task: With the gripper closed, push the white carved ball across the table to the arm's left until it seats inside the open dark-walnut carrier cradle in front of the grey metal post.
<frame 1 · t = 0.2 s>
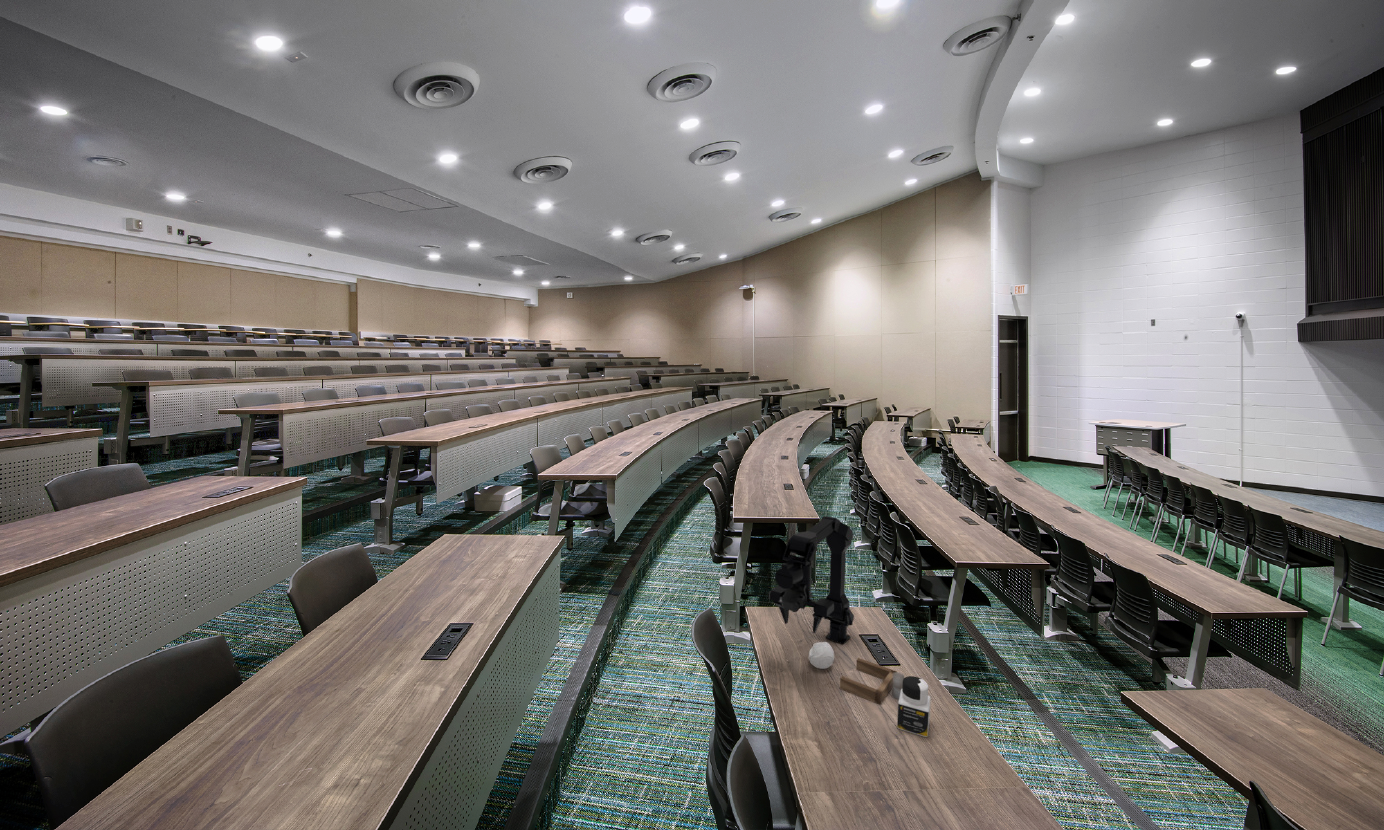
hand: (800, 627, 158), 14 cm above the table, fingers open, 9 cm apart
carrier cradle: (865, 683, 153), on the table
medicine bottle: (913, 725, 135), on the table
white carved ball: (820, 667, 162), on the table
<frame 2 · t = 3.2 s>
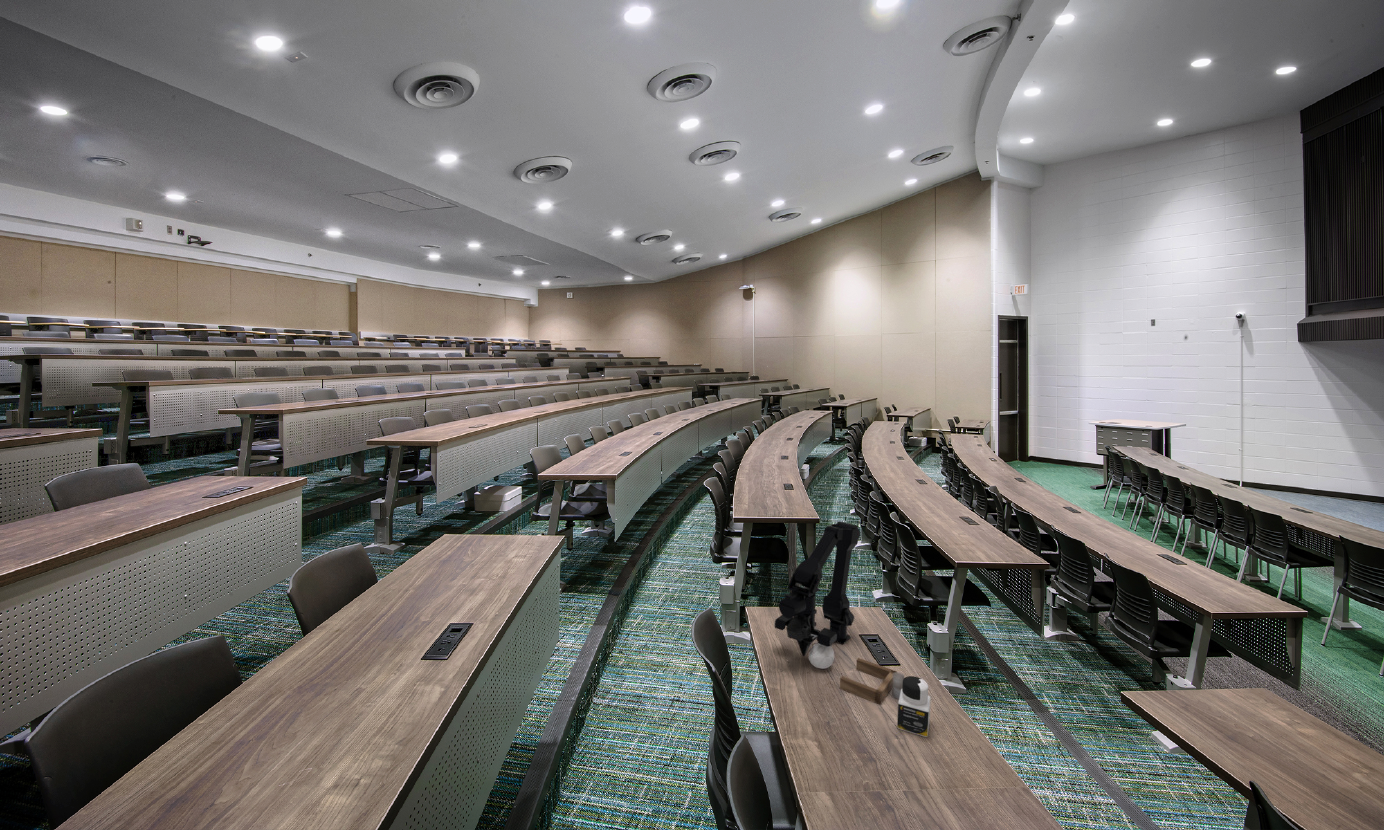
hand: (804, 655, 165), 2 cm above the table, fingers closed
white carved ball: (820, 667, 162), on the table, touching gripper
everything else where it was.
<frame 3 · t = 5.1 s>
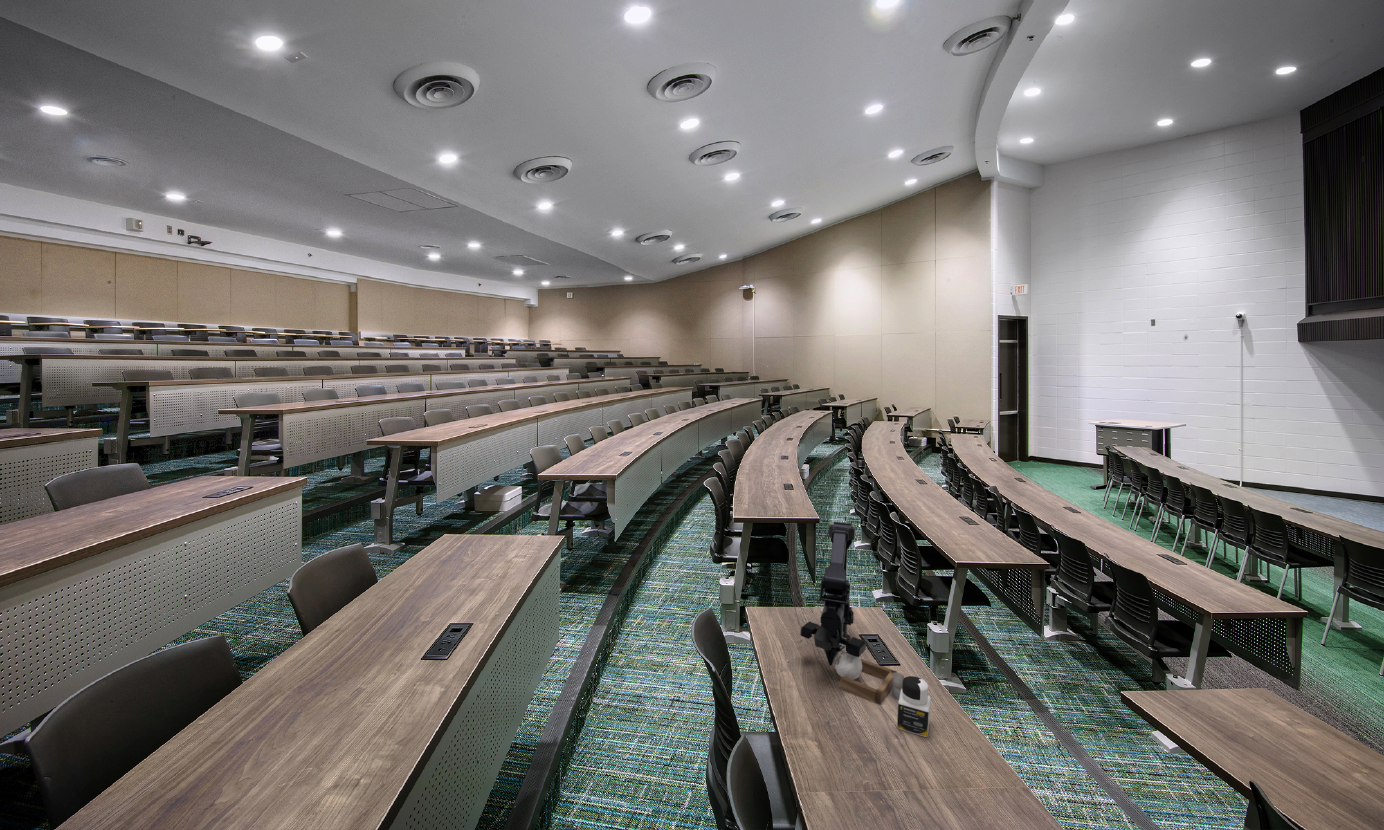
hand: (830, 665, 159), 2 cm above the table, fingers closed
white carved ball: (847, 678, 156), on the table, touching gripper
everything else where it was.
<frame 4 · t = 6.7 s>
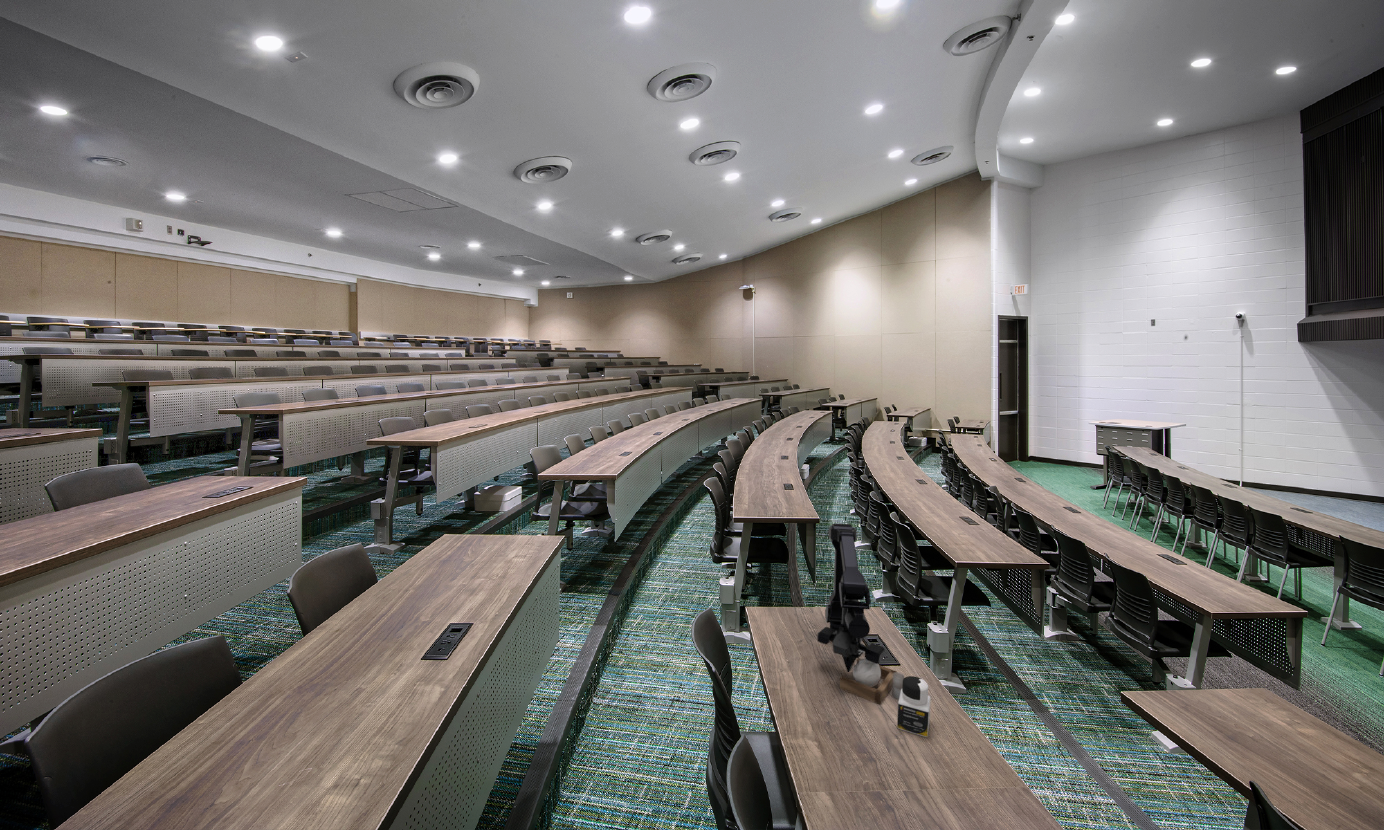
hand: (848, 671, 156), 2 cm above the table, fingers closed
white carved ball: (865, 685, 152), on the table, touching gripper
everything else where it was.
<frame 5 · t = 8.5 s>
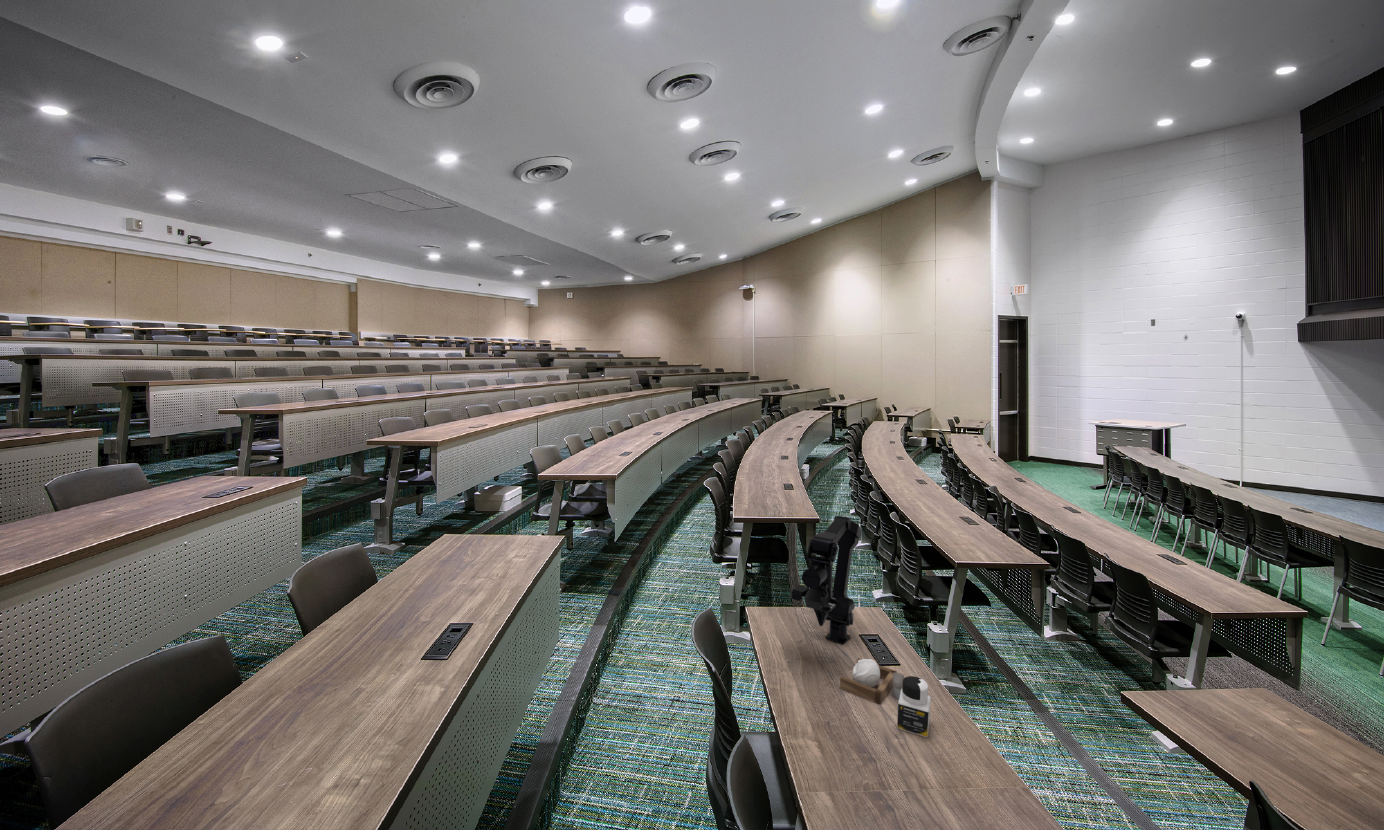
hand: (821, 625, 164), 12 cm above the table, fingers closed
white carved ball: (865, 685, 152), on the table
everything else where it was.
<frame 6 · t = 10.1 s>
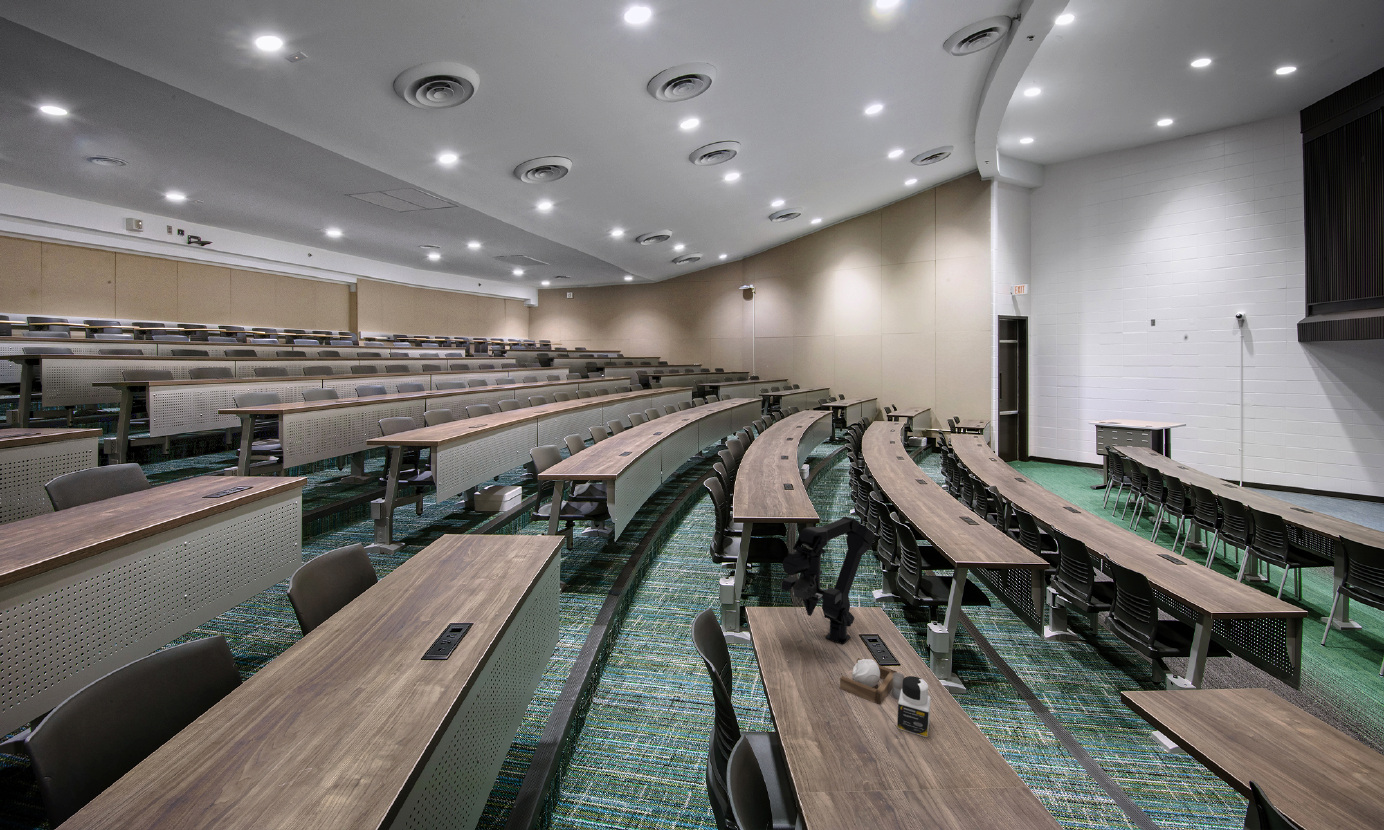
hand: (809, 615, 170), 12 cm above the table, fingers closed
nothing on the table moved.
at the end: white carved ball 1.4 cm from the target spot on the carrier cradle, point 0.0 cm above the carrier cradle's base; white carved ball tilted 0° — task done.
